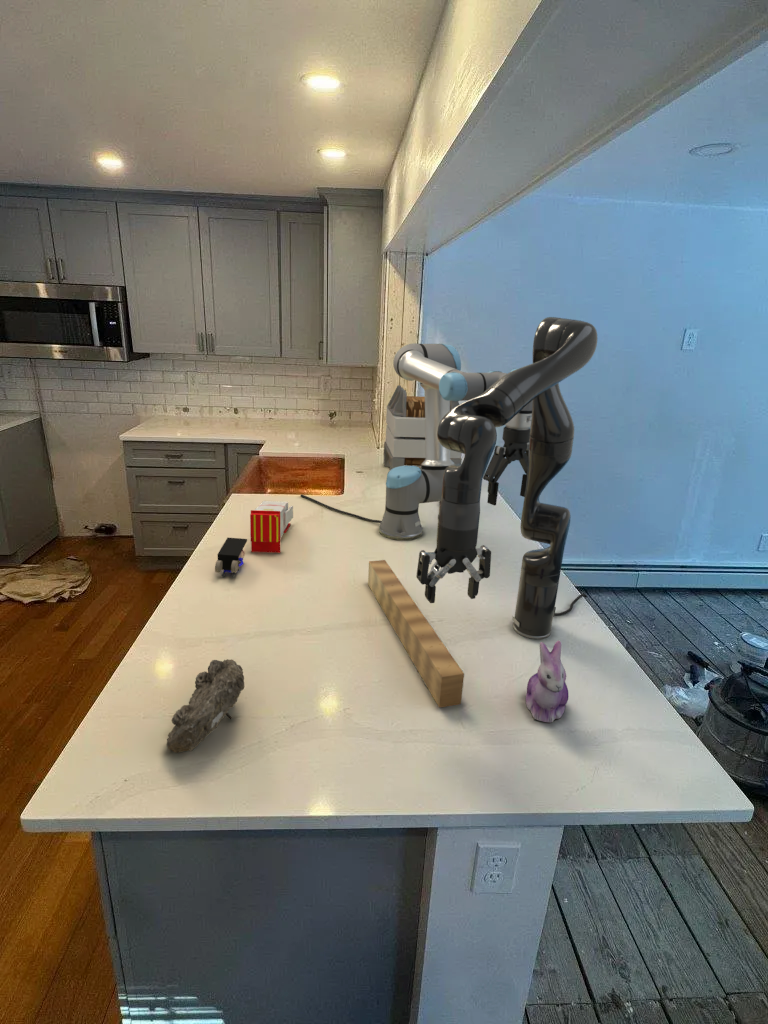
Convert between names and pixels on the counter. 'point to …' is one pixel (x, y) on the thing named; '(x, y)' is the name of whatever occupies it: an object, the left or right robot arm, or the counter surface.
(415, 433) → the transformer
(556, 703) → the figurine
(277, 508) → the toy
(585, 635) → the counter surface
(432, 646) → the beam
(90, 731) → the counter surface
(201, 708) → the fossil
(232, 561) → the figurine character
